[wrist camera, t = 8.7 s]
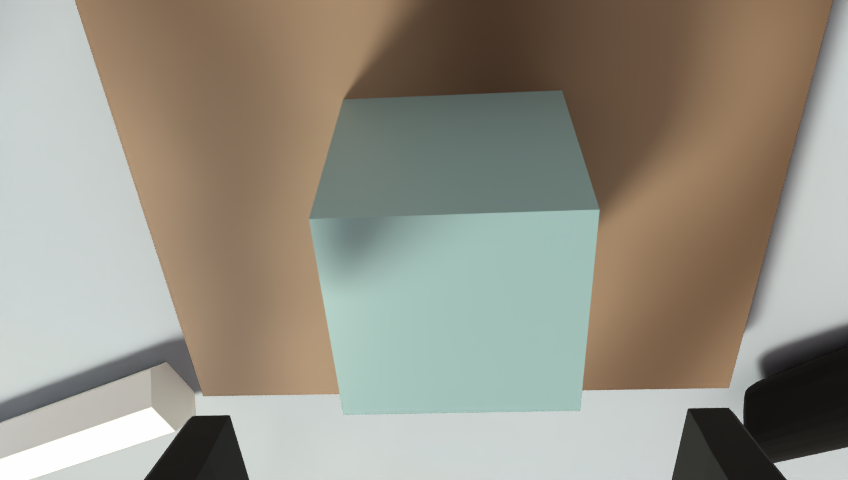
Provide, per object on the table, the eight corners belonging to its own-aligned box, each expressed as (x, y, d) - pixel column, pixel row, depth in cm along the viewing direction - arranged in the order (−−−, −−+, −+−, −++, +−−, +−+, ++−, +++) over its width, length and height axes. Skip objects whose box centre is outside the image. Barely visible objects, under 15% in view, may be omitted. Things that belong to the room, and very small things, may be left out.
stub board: (215, 361, 24) (178, 462, 21) (76, -105, 16) (-21, -61, 12) (713, 352, 23) (758, 456, 20) (833, -145, 15) (942, -109, 12)
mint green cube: (365, 271, 20) (343, 414, 15) (342, 99, 17) (308, 218, 13) (552, 266, 19) (580, 410, 15) (562, 90, 16) (599, 209, 12)
